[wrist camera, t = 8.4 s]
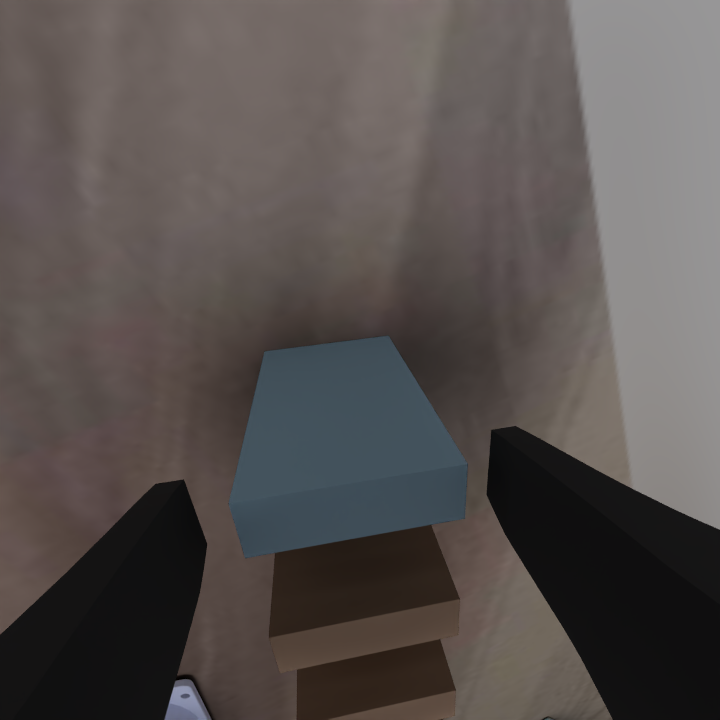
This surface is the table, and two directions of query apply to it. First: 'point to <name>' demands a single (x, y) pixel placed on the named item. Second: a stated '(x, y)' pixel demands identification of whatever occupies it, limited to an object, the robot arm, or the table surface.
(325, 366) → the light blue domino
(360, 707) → the walnut domino
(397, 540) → the walnut domino
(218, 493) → the table surface
